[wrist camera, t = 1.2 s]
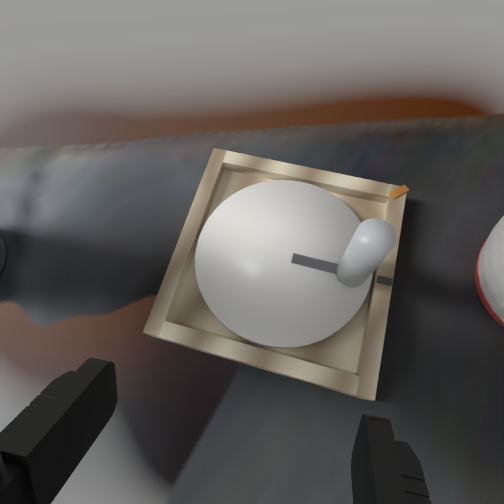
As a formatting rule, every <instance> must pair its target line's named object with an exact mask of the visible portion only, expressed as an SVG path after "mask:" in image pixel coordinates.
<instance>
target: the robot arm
mask: <svg viewBox="0 0 504 504" xmlns="http://www.w3.org/2000/svg"><path fill="white" fill-rule="evenodd" d="M5 259H6V247H5V243H4V241H3V239H2V237H1V236H0V273H1V271H2V268H3V266H4V263H5ZM116 404H117V386H116V374H115V365H114V363H113V362H109V361H105V360H100V359H95V358H89V359H87V360H86V361H85V362H84V363H83V364H82V365H81V366H80V367H79V368H78V369H77V371H75V372H74V371H68V372H67V373H65V374H63V375H61V376H60V377H58V378H56V379H55V380H53V381H52V382H51V383H50V384H49V385H48V386H47V387H46V388H45V389H44V390H43V391H42V392H41V394H40V395H38V396H37V397H36V398H35V399H34V400H33V401H32V402H31V403H30V405H29V406H27V407H26V408H25V409H24V410H23V411H22V412H21V413H20V414H19V415H18V416H17V417H16V418H15V419H14V420H13V421H12V422H11V423H10V424H9V425H8V426H7V427H6V428H5V429H4V430H2V431H1V432H0V504H51V503H52V501H53V500H54V498H55V497H56V495H57V494H58V493H59V491H60V490H61V488H62V487H63V486H64V484H65V483H66V481H67V480H68V478H69V477H70V475H71V474H72V472H73V471H74V470H75V468H76V467H77V465H78V464H79V463H80V461H81V460H82V458H83V457H84V455H85V454H86V453H87V451H88V450H89V448H90V447H91V445H92V444H93V443H94V441H95V440H96V438H97V437H98V435H99V434H100V433H101V431H102V430H103V428H104V427H105V425H106V424H107V422H108V421H109V420H110V418H111V416H112V415H113V413H114V410H115V407H116ZM351 479H352V492H353V504H431V500H429V493H428V489H427V486H426V484H425V478H424V475H423V471H422V467H421V464H420V460H419V459H418V457H417V456H416V455H415V453H414V452H413V450H412V449H411V447H410V446H409V444H408V443H406V442H401V441H396V440H395V439H394V435H393V430H392V425H391V422H390V420H389V419H385V418H380V417H375V416H370V415H366V414H363V415H362V417H361V420H360V424H359V428H358V432H357V436H356V439H355V443H354V447H353V451H352V459H351Z"/></svg>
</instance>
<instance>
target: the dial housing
mask: <svg viewBox="0 0 504 504" xmlns="http://www.w3.org/2000/svg"><path fill="white" fill-rule="evenodd" d="M273 180H293V181H300V182H305V183H308V184H312V185H315V186H317V187H320V188H322V189H324V190H326V191H328V192H330V193H332V194H333V195H335V196H336V197H338V198H339V199H340V200H342V201H343V202H344V203H345V204H346V205H347V206H348V207H349V208H350V209H351V210H352V211H353V212H354V213H355V215H356V216H357V217H358V219H359V220H360V222H361V223H362V222H363V221H365V220H367V219H371V218H377V219H382V220H384V221H386V222H388V223H389V224H390V225H391V226H392V227H393V229H394V230H395V233H396V237H397V240H396V244H395V246H394V248H393V249H392V250H391V251H390V252H389V254H388V255H387V256H386V257H385V258H384V259H383V261H382V262H381V263H380V264H379V265H378V267H377V268H376V269H375V270H374V271H373V272H372V280H371V284H370V288H369V290H368V293H367V295H366V298H365V300H364V302H363V303H362V305H361V307H360V308H359V310H358V311H357V312H356V314H355V315H354V316H353V317H352V319H351V320H350V321H348V322H347V323H346V324H345V325H344V326H343V327H342V328H341V329H340V330H338V331H337V332H335V333H334V334H333V335H331V336H330V337H328V338H326V339H324V340H322V341H320V342H317V343H314V344H311V345H308V346H303V347H298V348H285V349H283V348H271V347H266V346H261V345H258V344H255V343H252V342H250V341H247V340H245V339H243V338H241V337H239V336H238V335H236V334H235V333H233V332H232V331H230V330H229V329H228V328H227V327H225V326H224V325H223V324H222V323H221V322H220V321H219V320H218V319H217V317H216V316H215V315H214V314H213V312H212V311H211V310H210V308H209V307H208V305H207V303H206V302H205V300H204V298H203V296H202V294H201V291H200V289H199V286H198V282H197V278H196V271H195V253H196V246H197V243H198V239H199V236H200V233H201V231H202V229H203V227H204V225H205V223H206V221H207V220H208V218H209V217H210V215H211V214H212V213H213V212H214V210H215V209H216V208H217V207H218V206H219V205H220V204H221V203H222V202H223V201H225V200H226V199H227V198H229V197H230V196H231V195H233V194H235V193H236V192H238V191H240V190H242V189H244V188H246V187H248V186H251V185H254V184H257V183H261V182H266V181H273ZM408 191H409V189H408V188H407V187H406V186H405V185H403V186H396V185H391V184H387V183H382V182H377V181H372V180H367V179H362V178H357V177H353V176H348V175H343V174H338V173H333V172H328V171H323V170H319V169H314V168H309V167H304V166H299V165H294V164H289V163H285V162H280V161H275V160H270V159H265V158H260V157H255V156H251V155H246V154H241V153H236V152H231V151H226V150H221V149H217V148H214V149H213V152H212V154H211V157H210V159H209V162H208V165H207V167H206V170H205V172H204V175H203V178H202V180H201V183H200V185H199V188H198V191H197V193H196V196H195V198H194V201H193V204H192V206H191V209H190V211H189V214H188V217H187V219H186V222H185V224H184V227H183V230H182V232H181V235H180V237H179V240H178V243H177V245H176V248H175V250H174V253H173V256H172V258H171V261H170V263H169V266H168V269H167V271H166V274H165V276H164V279H163V282H162V284H161V287H160V289H159V292H158V295H157V297H156V300H155V302H154V305H153V308H152V310H151V313H150V316H149V318H148V321H147V323H146V326H145V328H144V331H143V333H145V334H148V335H150V336H152V337H155V338H159V339H162V340H165V341H169V342H172V343H175V344H179V345H182V346H186V347H189V348H192V349H196V350H199V351H202V352H206V353H209V354H213V355H216V356H220V357H223V358H227V359H230V360H233V361H236V362H240V363H243V364H246V365H250V366H253V367H257V368H260V369H263V370H267V371H270V372H273V373H277V374H280V375H284V376H287V377H290V378H294V379H297V380H301V381H304V382H307V383H311V384H314V385H317V386H321V387H324V388H328V389H331V390H334V391H338V392H341V393H345V394H348V395H351V396H355V397H358V398H361V399H365V400H372V401H375V396H376V389H377V383H378V376H379V370H380V363H381V356H382V350H383V343H384V337H385V330H386V324H387V317H388V310H389V304H390V297H391V291H392V284H393V278H394V271H395V264H396V258H397V251H398V245H399V238H400V232H401V225H402V218H403V212H404V205H405V199H406V192H408Z"/></svg>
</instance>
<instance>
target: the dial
mask: <svg viewBox="0 0 504 504" xmlns="http://www.w3.org/2000/svg"><path fill="white" fill-rule="evenodd" d="M396 240H397V237H396V233H395V230H394V229H393V227H392V226H391V225H390V224H389V223H388V222H386V221H384V220H382V219H377V218H371V219H367V220H365V221H363V222H362V223H361V222H360V220H359V219H358V217H357V216H356V215H355V213H354V212H353V211H352V210H351V209H350V208H349V207H348V206H347V205H346V204H345V203H344V202H343V201H342V200H340V199H339V198H338V197H336V196H335V195H333V194H332V193H330V192H328V191H326V190H324V189H322V188H320V187H317V186H315V185H312V184H308V183H305V182H300V181H293V180H273V181H266V182H261V183H257V184H254V185H251V186H248V187H246V188H244V189H242V190H240V191H238V192H236V193H235V194H233V195H231V196H230V197H229V198H227V199H226V200H225V201H223V202H222V203H221V204H220V205H219V206H218V207H217V208H216V209H215V210H214V212H213V213H212V214H211V215H210V217H209V218H208V220H207V221H206V223H205V225H204V227H203V229H202V231H201V233H200V236H199V239H198V243H197V246H196V253H195V271H196V278H197V282H198V286H199V289H200V291H201V294H202V296H203V298H204V300H205V302H206V303H207V305H208V307H209V308H210V310H211V311H212V312H213V314H214V315H215V316H216V317H217V319H218V320H219V321H220V322H221V323H222V324H223V325H224V326H225V327H227V328H228V329H229V330H230V331H232V332H233V333H235V334H236V335H238V336H239V337H241V338H243V339H245V340H247V341H250V342H252V343H255V344H258V345H261V346H266V347H271V348H283V349H285V348H298V347H303V346H308V345H311V344H314V343H317V342H320V341H322V340H324V339H326V338H328V337H330V336H331V335H333V334H334V333H335V332H337V331H338V330H340V329H341V328H342V327H343V326H344V325H345V324H346V323H347V322H348V321H350V320H351V319H352V317H353V316H354V315H355V314H356V312H357V311H358V310H359V308H360V307H361V305H362V303H363V302H364V300H365V298H366V295H367V293H368V290H369V288H370V284H371V280H372V272H373V271H374V270H375V269H376V268H377V267H378V265H379V264H380V263H381V262H382V261H383V259H384V258H385V257H386V256H387V255H388V254H389V252H390V251H391V250H392V249H393V248H394V246H395V244H396Z"/></svg>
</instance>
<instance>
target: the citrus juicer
mask: <svg viewBox="0 0 504 504" xmlns="http://www.w3.org/2000/svg"><path fill="white" fill-rule="evenodd" d="M475 283H476V289H477V292H478V295H479V297H480V300H481V302H482V303H483V305H484V307H485V308H486V310H487V311H488V313H489V314H490V315H491V316H492V317H493V318H494V320H495V321H496V322H498V323H499V324H500V325H501V326H502V327H504V216H503V217H502V218H501V219H500V221H499V222H498V223H497V225H496V226H495V227H494V228H493V230H492V232H491V233H490V235H489V237H488V238H487V239H486V240H485V242H484V244H483V246H482V248H481V249H480V253H479V256H478V260H477V263H476V268H475Z"/></svg>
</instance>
